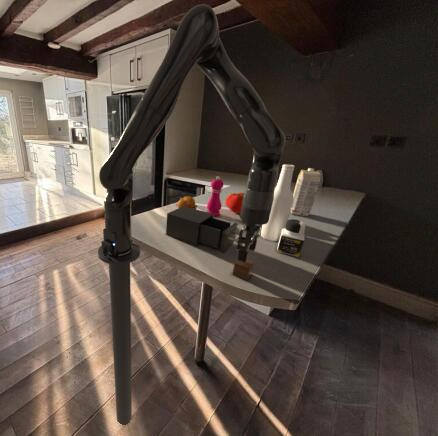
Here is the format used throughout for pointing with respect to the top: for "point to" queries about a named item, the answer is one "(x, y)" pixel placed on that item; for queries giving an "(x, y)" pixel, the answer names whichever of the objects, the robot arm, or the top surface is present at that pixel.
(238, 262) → the block
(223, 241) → the drawer
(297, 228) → the medicine bottle
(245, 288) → the top surface
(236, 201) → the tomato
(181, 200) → the orange rounded lump
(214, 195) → the pepper mill
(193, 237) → the cabinet
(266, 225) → the alcohol
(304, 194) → the juice carton
